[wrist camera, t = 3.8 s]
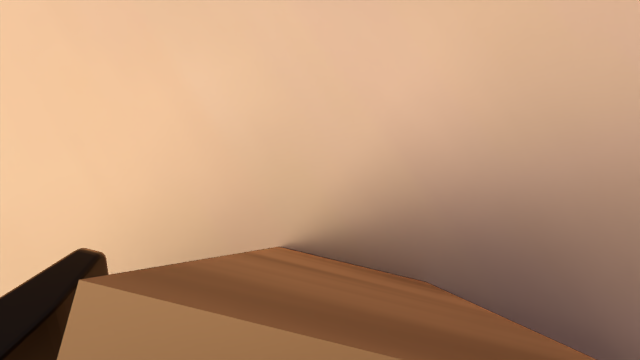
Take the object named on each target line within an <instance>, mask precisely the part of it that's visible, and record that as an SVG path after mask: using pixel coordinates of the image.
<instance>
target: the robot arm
mask: <svg viewBox="0 0 640 360" xmlns="http://www.w3.org/2000/svg"><path fill="white" fill-rule="evenodd" d="M105 275H108V269H107V261H106V257H105V255H104V254H103V253H102V252H99V251H95V250H91V249H86V248H80V249H77V250H76V251H74V252H72V253H71V254H69V255H67V256H66V257H64V258H63V259H61V260H59V261H58V262H56V263H55V264H53V265H51V266H50V267H48V268H47V269H45V270H43V271H42V272H40V273H39V274H37V275H35V276H34V277H32V278H31V279H29V280H27V281H26V282H24V283H23V284H21V285H19V286H18V287H16V288H15V289H13V290H11V291H10V292H8V293H7V294H5V295H3V296H2V297H0V360H57V357H58V354H59V350H60V347H61V343H62V339H63V336H64V332H65V329H66V325H67V321H68V318H69V314H70V311H71V307H72V303H73V300H74V296H75V293H76V289H77V285H78V282H79V280H80V279H86V278H92V277H99V276H105Z"/></svg>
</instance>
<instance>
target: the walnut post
mask: <svg viewBox="0 0 640 360" xmlns="http://www.w3.org/2000/svg"><path fill="white" fill-rule="evenodd" d="M57 360H596V359H594V358H592V357H590V356H588V355H585V354H583V353H581V352H579V351H577V350H574V349H572V348H570V347H568V346H566V345H563V344H561V343H559V342H557V341H555V340H552V339H550V338H548V337H546V336H544V335H541V334H539V333H537V332H535V331H533V330H530V329H528V328H526V327H524V326H522V325H519V324H517V323H515V322H513V321H511V320H508V319H506V318H504V317H502V316H500V315H497V314H495V313H493V312H491V311H489V310H486V309H484V308H482V307H480V306H478V305H475V304H473V303H471V302H469V301H467V300H464V299H462V298H460V297H458V296H456V295H453V294H451V293H449V292H447V291H445V290H442V289H440V288H438V287H436V286H434V285H431V284H429V283H427V282H423V281H419V280H415V279H411V278H407V277H403V276H399V275H394V274H390V273H386V272H382V271H378V270H374V269H369V268H365V267H361V266H357V265H353V264H349V263H345V262H340V261H336V260H332V259H328V258H324V257H320V256H315V255H311V254H307V253H303V252H299V251H295V250H291V249H286V248H282V247H274V248H268V249H262V250H256V251H250V252H244V253H238V254H232V255H226V256H220V257H214V258H208V259H202V260H196V261H189V262H183V263H177V264H171V265H165V266H159V267H153V268H147V269H141V270H135V271H129V272H123V273H117V274H111V275H105V276H99V277H92V278H86V279H80V280H79V282H78V285H77V289H76V293H75V296H74V300H73V303H72V307H71V311H70V314H69V318H68V321H67V325H66V329H65V332H64V336H63V339H62V343H61V347H60V350H59V354H58V357H57Z"/></svg>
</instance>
